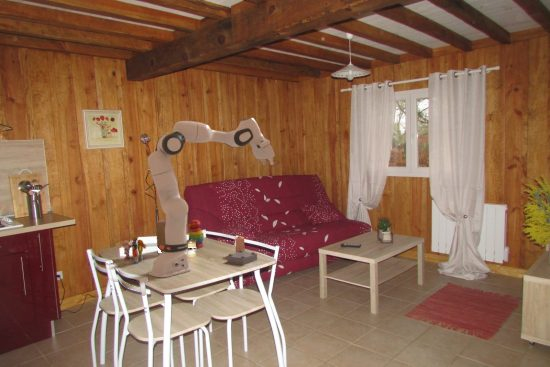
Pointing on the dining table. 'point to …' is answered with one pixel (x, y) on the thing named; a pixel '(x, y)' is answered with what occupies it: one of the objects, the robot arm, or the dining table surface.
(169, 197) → the robot arm
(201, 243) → the stacking bear
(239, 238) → the terracotta brick
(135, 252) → the doll family
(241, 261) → the charcoal base brick
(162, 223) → the block
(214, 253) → the dining table surface
